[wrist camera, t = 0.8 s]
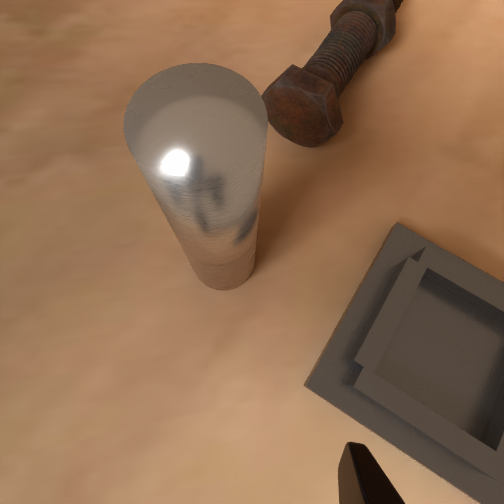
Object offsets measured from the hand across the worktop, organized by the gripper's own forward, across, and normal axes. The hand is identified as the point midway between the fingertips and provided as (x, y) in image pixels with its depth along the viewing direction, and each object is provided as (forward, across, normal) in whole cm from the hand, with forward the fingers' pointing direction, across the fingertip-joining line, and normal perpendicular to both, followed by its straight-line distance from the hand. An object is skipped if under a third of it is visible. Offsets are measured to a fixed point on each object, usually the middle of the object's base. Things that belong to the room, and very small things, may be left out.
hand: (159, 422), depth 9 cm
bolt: (+26, -6, -10) cm, 29 cm away
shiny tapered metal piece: (+15, 0, +3) cm, 15 cm away
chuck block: (+12, -13, +6) cm, 19 cm away
